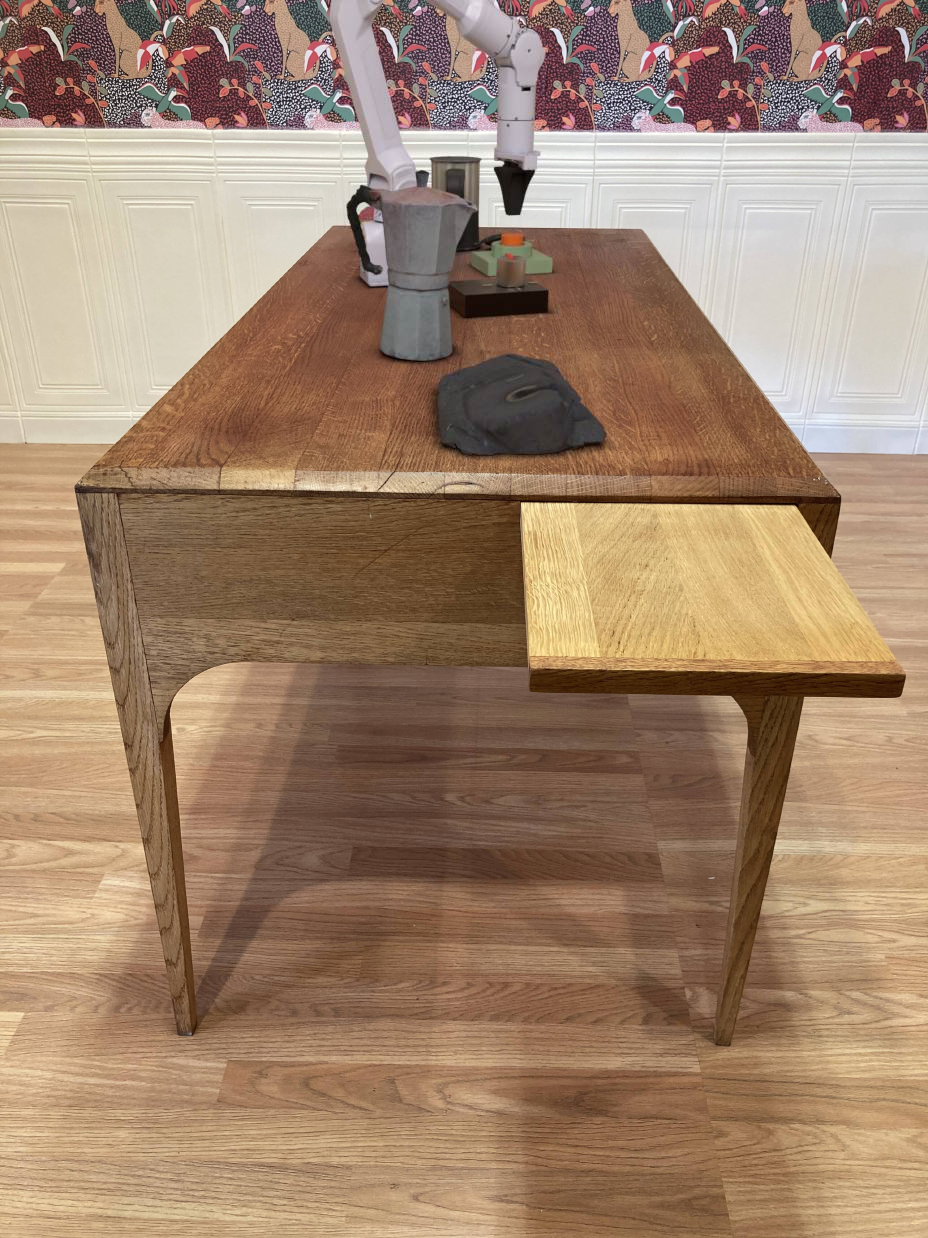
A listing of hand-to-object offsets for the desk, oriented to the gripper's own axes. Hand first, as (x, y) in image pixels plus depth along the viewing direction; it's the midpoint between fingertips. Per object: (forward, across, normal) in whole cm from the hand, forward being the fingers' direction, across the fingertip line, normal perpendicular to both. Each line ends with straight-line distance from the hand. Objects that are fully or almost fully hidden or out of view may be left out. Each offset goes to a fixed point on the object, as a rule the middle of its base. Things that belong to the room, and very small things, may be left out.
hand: (512, 214), depth 155 cm
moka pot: (+8, -44, +28) cm, 53 cm away
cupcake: (+8, +26, +16) cm, 32 cm away
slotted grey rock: (+8, -69, +24) cm, 74 cm away
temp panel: (+8, -25, +11) cm, 29 cm away
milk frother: (+9, +19, 0) cm, 21 cm away
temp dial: (+5, -25, +9) cm, 27 cm away
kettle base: (+8, 0, 0) cm, 8 cm away
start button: (+5, 0, 0) cm, 5 cm away
